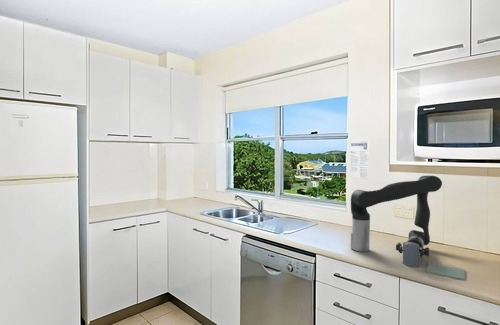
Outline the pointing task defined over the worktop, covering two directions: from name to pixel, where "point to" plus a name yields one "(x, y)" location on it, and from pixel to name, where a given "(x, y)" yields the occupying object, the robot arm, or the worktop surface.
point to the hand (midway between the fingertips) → (410, 253)
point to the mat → (446, 271)
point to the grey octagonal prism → (411, 254)
